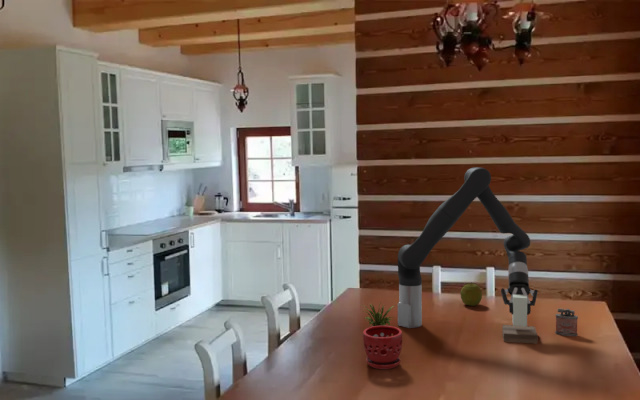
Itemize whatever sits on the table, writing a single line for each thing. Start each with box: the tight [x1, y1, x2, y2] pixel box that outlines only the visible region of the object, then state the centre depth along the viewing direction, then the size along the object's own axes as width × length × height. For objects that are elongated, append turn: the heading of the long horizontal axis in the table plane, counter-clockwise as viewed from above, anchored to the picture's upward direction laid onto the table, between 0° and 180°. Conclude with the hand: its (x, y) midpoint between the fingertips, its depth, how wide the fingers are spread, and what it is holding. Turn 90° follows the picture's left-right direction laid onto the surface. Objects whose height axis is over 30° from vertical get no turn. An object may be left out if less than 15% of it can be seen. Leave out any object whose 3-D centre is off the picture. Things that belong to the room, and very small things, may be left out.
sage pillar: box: [512, 294, 528, 326], centre depth 234 cm, size 5×5×11 cm
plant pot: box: [362, 325, 403, 370], centre depth 206 cm, size 13×13×12 cm
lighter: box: [554, 308, 579, 337], centre depth 237 cm, size 8×3×10 cm, turn 65°
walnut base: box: [501, 324, 538, 344], centre depth 234 cm, size 12×12×3 cm
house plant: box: [360, 301, 396, 337], centre depth 228 cm, size 14×14×16 cm
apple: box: [460, 281, 483, 307], centre depth 284 cm, size 10×10×11 cm
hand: (520, 313), depth 232 cm, fingers closed on sage pillar, 5 cm apart
